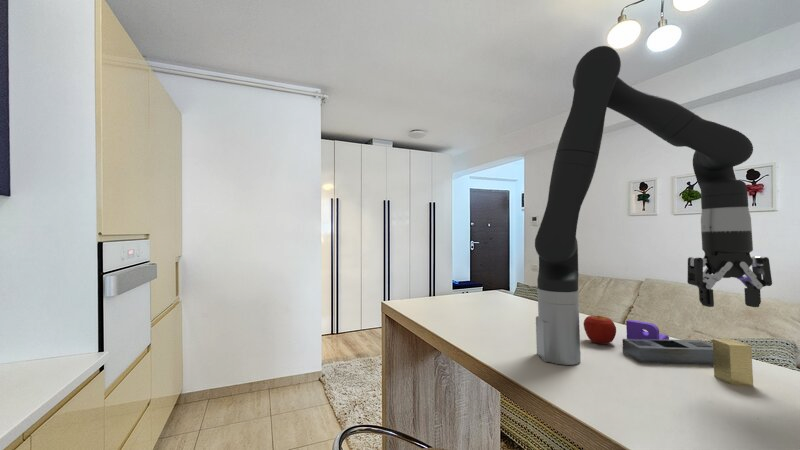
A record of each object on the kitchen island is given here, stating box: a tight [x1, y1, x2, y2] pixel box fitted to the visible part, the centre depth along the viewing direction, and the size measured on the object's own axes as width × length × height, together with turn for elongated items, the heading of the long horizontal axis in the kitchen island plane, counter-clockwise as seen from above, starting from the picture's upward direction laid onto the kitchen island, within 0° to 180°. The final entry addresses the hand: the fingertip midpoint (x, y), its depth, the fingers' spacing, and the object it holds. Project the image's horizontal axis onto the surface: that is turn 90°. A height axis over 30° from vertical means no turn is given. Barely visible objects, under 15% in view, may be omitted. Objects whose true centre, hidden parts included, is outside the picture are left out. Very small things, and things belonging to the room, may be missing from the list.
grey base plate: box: [622, 338, 714, 366], centre depth 79 cm, size 19×7×4 cm, turn 84°
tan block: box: [712, 338, 754, 387], centre depth 67 cm, size 4×4×8 cm
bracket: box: [625, 319, 670, 340], centre depth 91 cm, size 12×7×7 cm, turn 129°
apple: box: [583, 315, 617, 345], centre depth 91 cm, size 8×8×8 cm
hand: (730, 306), depth 67 cm, fingers open, 8 cm apart
